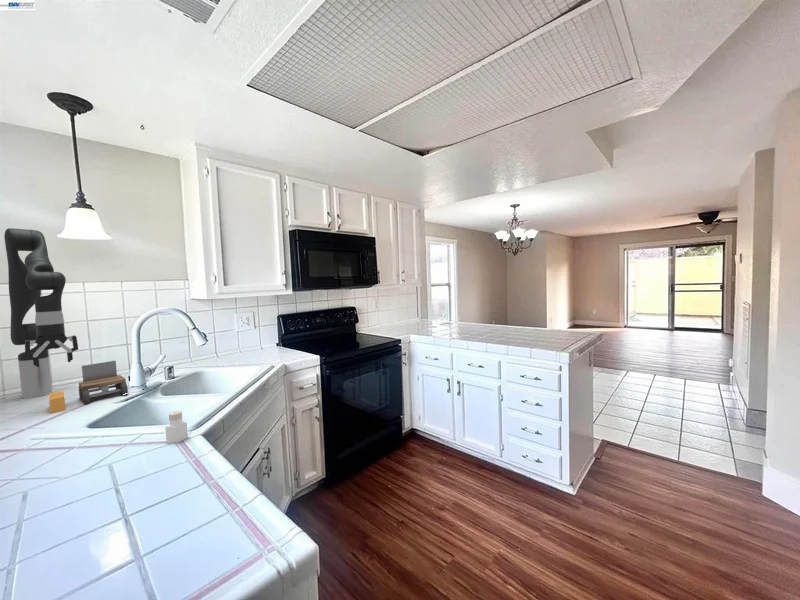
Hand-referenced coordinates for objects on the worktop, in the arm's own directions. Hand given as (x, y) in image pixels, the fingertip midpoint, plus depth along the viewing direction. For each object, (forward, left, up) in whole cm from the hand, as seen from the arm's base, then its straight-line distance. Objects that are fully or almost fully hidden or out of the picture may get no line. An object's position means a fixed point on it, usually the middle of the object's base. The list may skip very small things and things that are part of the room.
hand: (53, 364), depth 128 cm
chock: (0, 0, -18) cm, 18 cm away
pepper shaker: (+75, +19, -18) cm, 79 cm away
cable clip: (-15, +29, -18) cm, 37 cm away
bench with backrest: (-3, +14, -18) cm, 23 cm away
